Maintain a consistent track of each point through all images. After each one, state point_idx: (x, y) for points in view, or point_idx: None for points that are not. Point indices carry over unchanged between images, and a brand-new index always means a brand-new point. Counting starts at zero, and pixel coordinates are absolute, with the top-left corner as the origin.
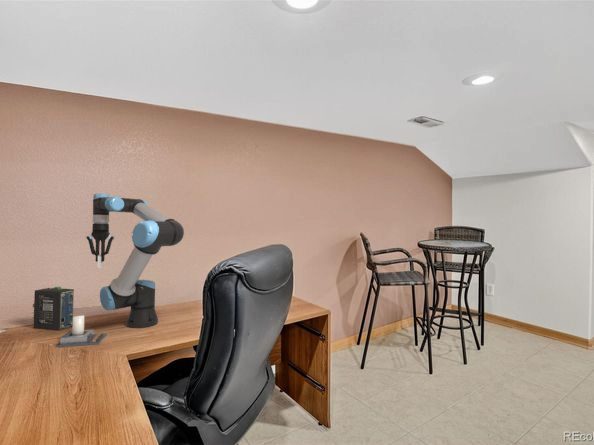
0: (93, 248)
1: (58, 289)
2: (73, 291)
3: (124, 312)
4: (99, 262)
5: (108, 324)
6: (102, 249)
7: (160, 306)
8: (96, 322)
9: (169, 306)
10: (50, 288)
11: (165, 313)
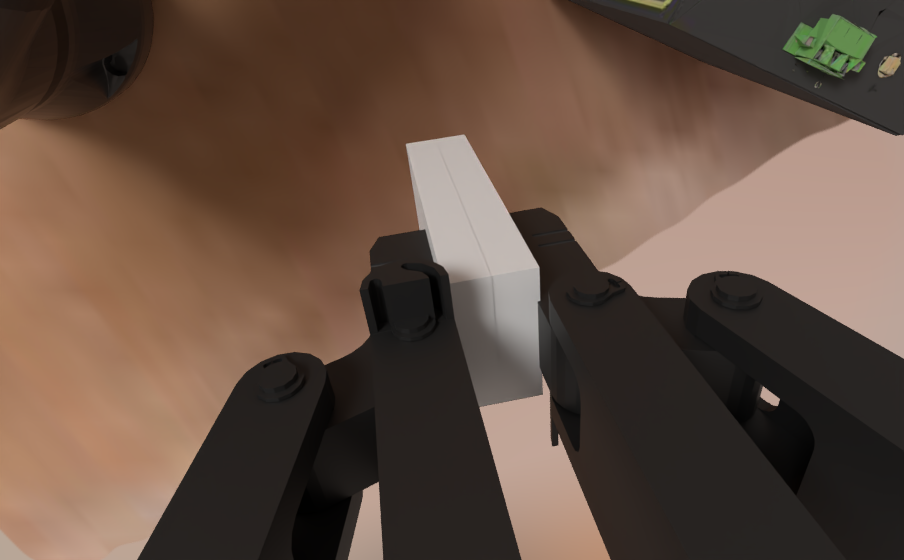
0: (851, 485)
1: (816, 19)
2: (656, 19)
3: (344, 311)
4: (448, 187)
5: (303, 6)
6: (432, 480)
7: (185, 435)
8: (416, 75)
9: (124, 437)
10: (894, 62)
11: (36, 285)
